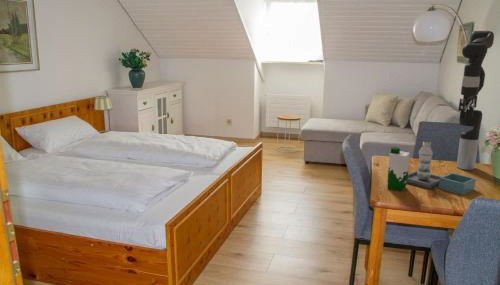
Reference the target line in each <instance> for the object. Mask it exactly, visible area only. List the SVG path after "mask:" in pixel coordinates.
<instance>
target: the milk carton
mask: <svg viewBox="0 0 500 285" xmlns="http://www.w3.org/2000/svg"><path fill="white" fill-rule="evenodd" d="M400 150H401V148H400V147H395V146H394V147H391V148H390V153H389V154H388V155H389V157H388V158H389V159H388V169H387V190H391V191H392V190H393V191H398V192H404V190H405V188H406V187H407V184H408V183H407V179H408V173H409V168H410V153H411V152H406V151H404V150H403V151H400Z"/></svg>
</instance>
